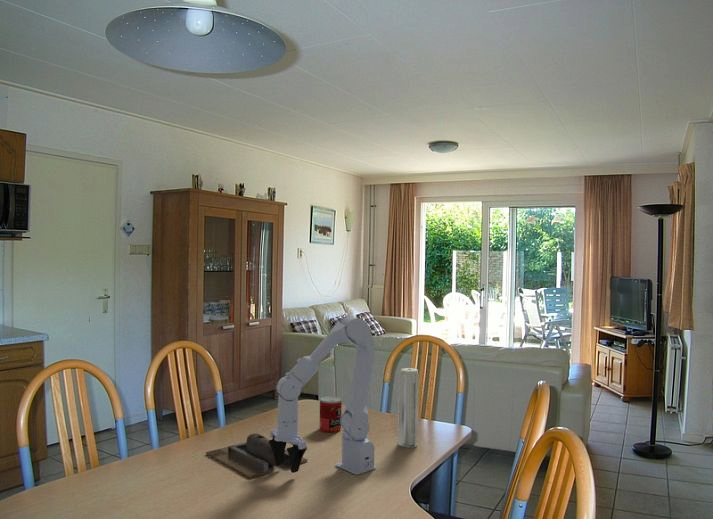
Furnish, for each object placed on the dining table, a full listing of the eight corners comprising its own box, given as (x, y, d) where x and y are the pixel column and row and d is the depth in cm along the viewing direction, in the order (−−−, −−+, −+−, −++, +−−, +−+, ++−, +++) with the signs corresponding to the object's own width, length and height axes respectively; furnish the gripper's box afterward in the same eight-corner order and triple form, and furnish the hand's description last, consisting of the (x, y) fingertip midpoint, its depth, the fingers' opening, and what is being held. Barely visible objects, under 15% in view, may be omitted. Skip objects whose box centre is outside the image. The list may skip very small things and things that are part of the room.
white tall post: (417, 442, 188) (418, 367, 188) (417, 448, 182) (418, 371, 182) (398, 441, 189) (399, 366, 189) (397, 447, 182) (398, 370, 182)
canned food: (332, 434, 195) (332, 402, 195) (314, 429, 200) (315, 399, 200) (345, 429, 201) (346, 398, 201) (328, 425, 206) (329, 395, 206)
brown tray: (307, 461, 168) (307, 451, 168) (249, 478, 154) (250, 468, 154) (260, 441, 186) (261, 432, 186) (205, 454, 173) (206, 445, 173)
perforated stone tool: (284, 467, 163) (284, 443, 163) (268, 471, 160) (268, 447, 160) (259, 453, 175) (259, 430, 175) (244, 456, 172) (244, 433, 172)
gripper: (261, 417, 161) (260, 464, 161) (291, 428, 151) (290, 479, 151) (281, 412, 166) (281, 458, 166) (312, 423, 155) (311, 472, 155)
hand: (287, 468), depth 159 cm, fingers open, 7 cm apart
